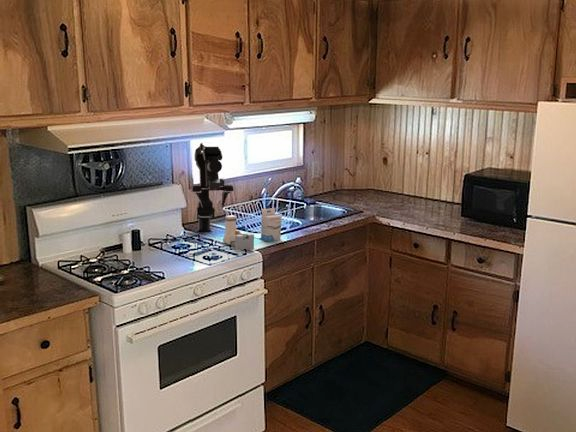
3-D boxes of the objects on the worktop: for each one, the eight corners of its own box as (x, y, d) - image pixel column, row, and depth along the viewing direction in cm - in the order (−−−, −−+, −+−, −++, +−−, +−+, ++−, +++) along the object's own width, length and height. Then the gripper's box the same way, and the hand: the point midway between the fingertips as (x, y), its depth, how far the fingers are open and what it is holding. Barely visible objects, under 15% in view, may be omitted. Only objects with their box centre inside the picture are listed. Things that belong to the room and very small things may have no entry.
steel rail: (223, 240, 292) (223, 238, 292) (228, 240, 294) (228, 237, 293) (239, 248, 279) (239, 245, 279) (245, 247, 281) (245, 245, 280)
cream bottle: (224, 241, 289) (224, 215, 287) (233, 240, 292) (234, 215, 289) (229, 244, 285) (229, 218, 283) (238, 243, 288) (239, 217, 285)
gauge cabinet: (234, 248, 278) (234, 234, 277) (249, 246, 282) (250, 233, 281) (238, 250, 275) (238, 236, 274) (253, 248, 279) (254, 234, 278)
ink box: (267, 242, 293) (267, 211, 290) (260, 239, 296) (261, 209, 293) (280, 239, 298) (281, 209, 295) (274, 237, 302) (275, 207, 299)
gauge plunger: (234, 235, 283) (234, 230, 282) (239, 235, 284) (239, 229, 284) (242, 239, 276) (243, 234, 276) (247, 239, 278) (248, 233, 277)
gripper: (194, 173, 275) (194, 208, 276) (235, 172, 280) (236, 207, 281) (190, 173, 286) (191, 207, 286) (230, 173, 291) (231, 206, 292)
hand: (212, 207), depth 286 cm, fingers open, 9 cm apart
